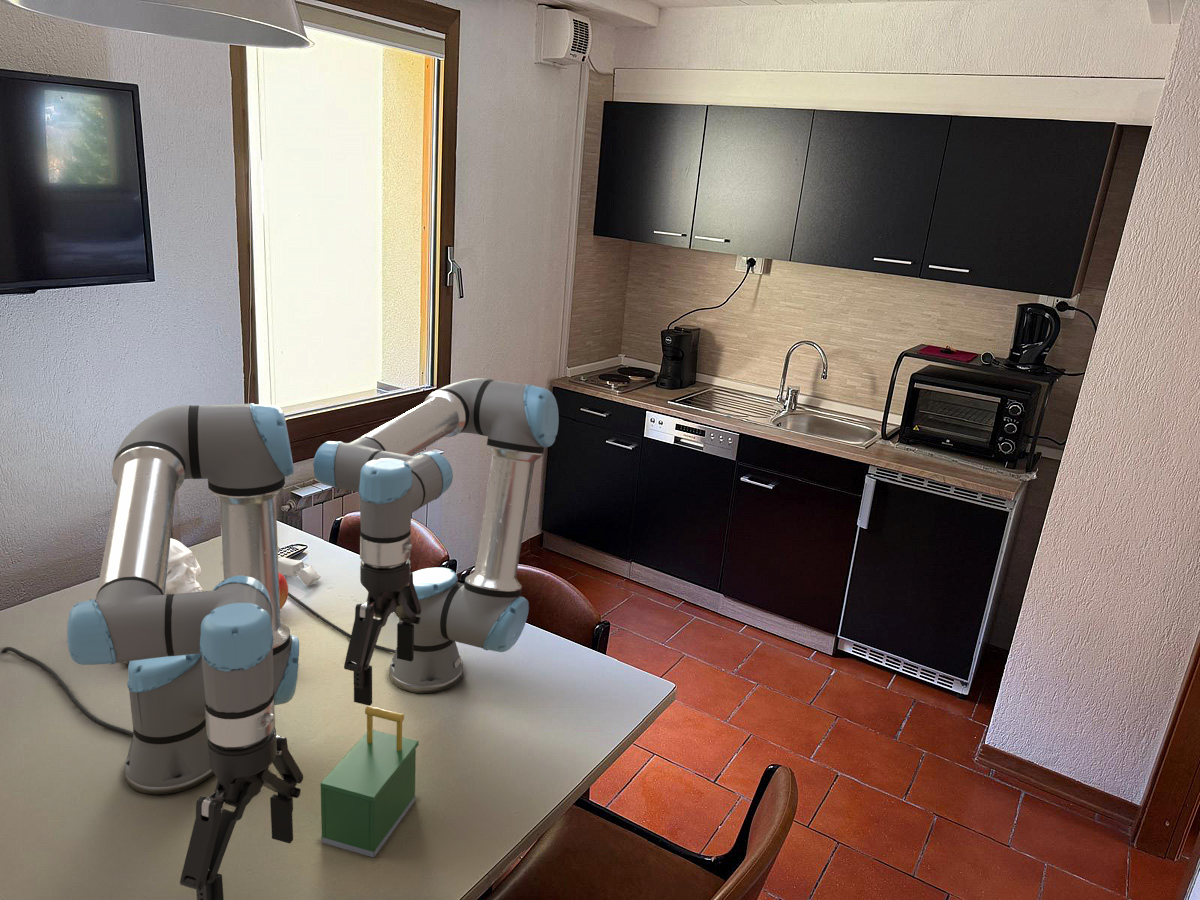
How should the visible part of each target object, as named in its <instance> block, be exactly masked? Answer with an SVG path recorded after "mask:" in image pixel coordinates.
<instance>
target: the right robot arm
mask: <svg viewBox="0 0 1200 900" xmlns="http://www.w3.org/2000/svg"><path fill="white" fill-rule="evenodd" d="M559 415H560V414H559V407H558V402H557V399H556V397H555V396H554V394H553V392H552V391H551V390H549V389H547V388H544V387H540V386H536V385H533V384H524V383H519V382H518V383H517V382H511V381H504V380H498V379H491V378H485V377H477V378H469V379H464V380H460V381H456V382H453V383H450V384H447V385H445V386H443V387H440V388H438V389H436V390H435V391H432V392H431V393H430V394H428V395H427V396H426V397H425V398H424V400H423V403H421V404H419V405H417V406H416V407H414V408H412V409H410V410H408V411H406V412H405V413H402V414H401V415H399V416H397V417H395V418H394V419H392V420H390V421H388V422H386V423H384V424H382V425H380V426H379V427H377V428H374V429H372V430H370V431H369V432H368V433H365V434H364V435H362V436H360V437H358V438H357V439H355V440H353V441H350V442H343V441H334V440H333V441H332V440H327V441H325V442H324V443H322V444H321V445H320V446H319V447H318V448H317V451H316V452H315V455H314V458H313V461H312V462H313V464H312V465H313V475H314V477H315V479H316V480H317V482H318V483H319V484H322V485H325V486H327V487H331V488H332V487H333V488H334V489H336V490H343V491H350V492H355V493H358V495H359V514H360V515H359V516H360V517H359V521H360V527H359V528H360V529H359V530H360V535H359V559H360V560H361V561H360V563H359V564H360V565H359V571H360V572H359V578H360V584H361V586H363V588H364V589H366V591H367V592H368V593H367V598H366V602H365V603H360V602H358V603H356V605H355V609H354V621H353V624H352V630H351V633H348V632H347V631H345V630H344V629H343V628H341V627H338V625H335V623H332V621H331V622H330V620H328V619H327V618H325V617H324V616H322V615H320V614H319V613H318V612H316V611H315V610H313V609H312V608H311V607H309V606H308V605H307V604H305V603H304V602H303V601H301V600H300V599H299V598H298V597H296V596H294V595H293V594H291V593H290V592H289V591H288V597H289V598H291V599H292V600H293V601H294V602H295V603H297V604H298V605H300V606H301V607H302V608H304V609H305V610H306V611H308V612H309V613H311V614H312V615H313V616H315V617H316V618H318V619H319V620H320V621H322V622H323V623H324V624H327V625H328V626H329V627H331V628H333V629H334V630H336V631H338V632H339V633H341V634H342V635H344V636H346V637H347V638H349V643H348V646H347V647H348V648H347V651H346V656H345V661H344V664H343V669H344V670H347V671H351V672H353V703H357V704H361V705H364V706H371V705H372V704H373V665H370V664H371V660H372V657H373V654H374V652H375V649H378V650H381V651H383V652H384V651H385V652H388V653H392V654H393V656H392V659H391V660H390V665H389V679H390V681H391V682H392V683H393V684H394V685H395V686H396V687H398V688H399V689H401V690H404V691H407V692H410V693H416V694H430V693H431V694H432V693H438V692H441V691H445V690H447V689H450V688H451V687H453V686H455V685H456V684H457V683H458V682H459V681H460V680H461V679H462V676H463V672H464V664H463V660H462V657H461V655H460V653H459V649H458V646H457V643H460V644H463V645H468V646H471V647H476V648H479V649H483V651H491V652H498V653H505V652H507V651H509V650H510V649H512V648H513V647H514V646H515V644H516V643H517V641H518V640H519V638H520V636H521V635H522V632H523V630H524V629H525V626H526V623H527V620H528V615H529V610H530V606H529V605H530V604H529V600H528V599H527V598H525V597H524V596H521V595H522V589H523V585H522V584H521V582H520V581H519V580H518V578H517V573H518V569H519V563H520V562H519V561H520V556H521V555H520V554H521V549H522V543H523V536H524V530H525V523H526V518H527V511H528V506H529V498H530V493H531V486H532V480H533V475H534V474H533V473H534V468H535V463H536V461H537V460H539V459H540V458H541V457H544V453H545V448H549V447H551V446H553V444H555V441H556V437H557V435H558V432H559V431H558V430H559V422H560V421H559V419H560V418H559V417H560V416H559ZM459 434H473V435H479V436H484V437H487V440H486V448H487V449H488V450H489V452H490V453H491V464H490V470H489V476H488V482H487V488H486V493H485V494H486V495H485V501H484V508H483V512H482V513H483V514H482V519H481V526H480V532H479V538H478V544H477V549H476V550H477V552H476V556H475V557H476V558H475V564H474V570H473V571H472V573H470V574H469V575H467V576H466V577H465V578H464V583H462V582H458V580H459V579H458V575H457V573H456V572H455V571H454V570H453V569H450V568H448V567H447V568H446V567H427V568H421V569H418V570H416V571H413V572H411V560H410V557H411V550H412V549H413V544H412V543H411V532H412V531H411V530H412V528H411V527H412V514H414V513H415V512H417V511H418V510H419V509H421V508H422V507H424V506H426V505H427V504H429V503H431V502H433V501H435V500H437V499H439V498H440V497H441V496H442V495H443V494H444V493H446V491H448V490H449V489H450V487H451V486H452V484H453V479H454V473H453V468H452V465H451V464H450V461H449V460H448V459H447V458H446V457H445V456H444V455H442V454H441V453H439V452H437V451H425V452H422V451H424V450H426V448H429V447H430V446H431V445H433V444H435V443H436V442H438V441H440V440H441V439H443V438H451V437H456V436H457V435H459ZM421 452H422V453H421ZM393 613H394V614H395V615H396V617H397V618H398V622H397V624H396V648H395V649H393V648H389V647H385V646H381V645H378V644H377V643H378V639H379V637H380V634H381V631H382V628H384V627H385V626H386V625H387V623H388V619H389V617H390V616H391V614H393Z"/></svg>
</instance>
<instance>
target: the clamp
mask: <svg viewBox="0 0 1200 900" xmlns="http://www.w3.org/2000/svg"><path fill="white" fill-rule="evenodd" d="M280 549H281V547H279V546H278V552H279V551H280ZM305 566H306V567H305ZM278 570H279V573H281V574H282V575H283V576H288V577H292V578H296V577H298V578H299V579H300V580H301V582H303V584H304V585H305V587H309V586H312V585H314V584H316V583H318V582H319V580H320V579H321V578H322V577H321V575H320V574H319V573H318V572H317V570H315V569H314V568H313V566H312V565H310V564H309V565H308V564H307V563H305V562H304V561H303V560H301V559H300V560H299V559H292V558H289V557H285V556H278Z"/></svg>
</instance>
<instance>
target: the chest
mask: <svg viewBox="0 0 1200 900" xmlns="http://www.w3.org/2000/svg"><path fill="white" fill-rule="evenodd" d="M416 754H417V748H416V749H415V750H414V752H413V753H412V754H411V755H410V757H409V758H408V759H407V761H406V762H405V763H404V764H403V766H402V767H401V768H400V769H399V771H398V772H397V773H396V774H395V776H394V777H393V778H392V780H391V781H390V782H389V783H388V785H387V786H386V787H385V788H384V790H383V791H382V792H381V793H380V795H379V796H378V797H377V799H376V800H375V801H374V802H372V801H369V800H365V799H361V798H358V797H354V796H350V795H347V794H343V793H339V792H336V791H332V790H328V789H325V788H321V787H320V816H321V817H320V821H321V822H320V823H321V843H322V844H325V845H329V846H332V847H336V848H339V849H342V850H346V851H349V852H353V853H355V854H356V853H357V854H360V855H363V856H367V857H370V858H373V859H374V858H375V857H376V856H377V854H378V853H379V852H380V850H381V848H383V846H384V844H386V842H387V840H388V839H389V838H390V836H391V835H392V833H393V832H394V830H395V829H396V828H397V826H398V825H399V824H400V822H401V821H402V819H403V818H404V817H405V815H406V814H407V813H408V811H409V810H410V809H411V807H412V806H413V804H414V803H415V801H416V768H417V767H416V765H417V764H416V760H417V758H416V757H417V756H416Z"/></svg>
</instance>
